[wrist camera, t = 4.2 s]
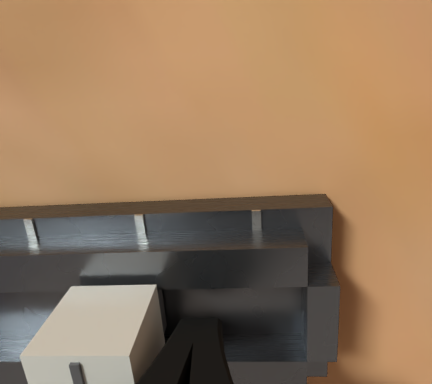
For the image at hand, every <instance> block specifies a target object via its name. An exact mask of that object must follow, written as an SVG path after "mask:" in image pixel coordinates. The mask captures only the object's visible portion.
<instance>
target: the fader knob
mask: <svg viewBox="0 0 432 384" xmlns="http://www.w3.org/2000/svg"><path fill="white" fill-rule="evenodd" d="M166 326H167V323H166V316H165V309H164V302H163V295H162V290H157V285H108V286H71V287H70V289H69V290H68V291H67V293H66V294H65V295H64V297H63V298H62V299H61V301H60V302H59V303H58V305H57V306H56V307H55V309H54V310H53V312H52V313H51V314H50V316H49V317H48V318H47V320H46V321H45V322H44V324H43V325H42V326H41V328H40V329H39V330H38V332H37V333H36V334H35V336H34V337H33V338H32V340H31V341H30V342H29V344H28V345H27V347H26V348H25V349H24V351H23V352H22V353H21V355H20V360H21V363H22V366H23V369H24V372H25V375H26V379H27V382H28V384H136V383H137V382H138V380H139V379H140V378H141V377H142V375H143V374H144V373H145V372H146V370H147V369H148V368H149V366H150V365H151V364H152V362H153V361H154V359H155V358H156V357H157V355H158V354H159V352H160V351H161V350H162V348H163V347H164V345H165V339H164V333H165V330H166Z"/></svg>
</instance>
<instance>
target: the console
mask: <svg viewBox="0 0 432 384" xmlns="http://www.w3.org/2000/svg"><path fill="white" fill-rule="evenodd" d="M332 217H333V206H332V204H331V203H330V201H329V199H328V197H327V195H326V194H313V195H289V196H265V197H241V198H217V199H193V200H169V201H145V202H121V203H97V204H72V205H48V206H24V207H0V384H28V382H27V379H26V375H25V372H24V369H23V366H22V363H21V360H20V355H21V353H22V352H23V351H24V349H25V348H26V347H27V345H28V344H29V342H30V341H31V340H32V338H33V337H34V336H35V334H36V333H37V332H38V330H39V329H40V328H41V326H42V325H43V324H44V322H45V321H46V320H47V318H48V317H49V316H50V314H51V313H52V312H53V310H54V309H55V307H56V306H57V305H58V303H59V302H60V301H61V299H62V298H63V297H64V295H65V294H66V293H67V291H68V290H69V289H70V287H71V286H108V285H157V290H162V295H163V302H164V309H165V316H166V323H167V326H166V330H165V333H164V339H165V344H166V342H167V341H168V339H169V337H170V336H171V334H172V333H173V331H174V329H175V328H176V326H177V324H178V323H179V321H180V320H181V319H182V318H219V319H220V320H221V321H222V328H223V340H224V352H225V356H226V360H227V363H228V367H229V370H230V374H231V377H232V380H233V383H234V384H307V376H323V377H327V362H337V347H338V325H339V303H340V284H339V282H338V279H337V277H336V274H335V272H334V269H333V267H332V264H331V246H332Z"/></svg>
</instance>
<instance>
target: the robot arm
mask: <svg viewBox="0 0 432 384" xmlns="http://www.w3.org/2000/svg"><path fill="white" fill-rule="evenodd" d="M136 384H234V383H233V380H232V377H231V374H230V370H229V367H228V363H227V360H226V356H225V352H224V340H223V328H222V321H221V320H220V319H219V318H182V319H181V320H180V321H179V323H178V324H177V326H176V328H175V329H174V331H173V333H172V334H171V336H170V337H169V339H168V341H167V342H166V344H165V345H164V347H163V348H162V350H161V351H160V352H159V354H158V355H157V357H156V358H155V359H154V361H153V362H152V364H151V365H150V366H149V368H148V369H147V370H146V372H145V373H144V374H143V375H142V377H141V378H140V379H139V380H138V382H137V383H136Z"/></svg>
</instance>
